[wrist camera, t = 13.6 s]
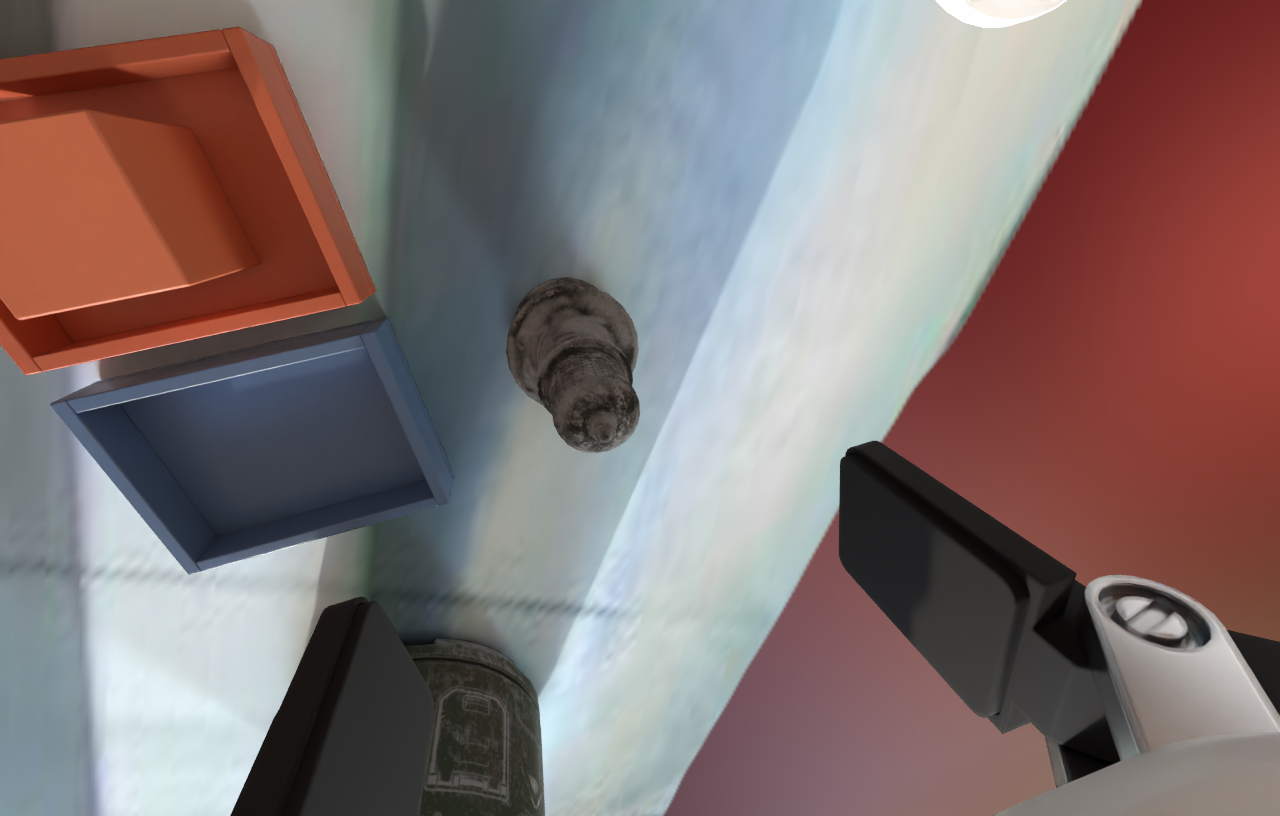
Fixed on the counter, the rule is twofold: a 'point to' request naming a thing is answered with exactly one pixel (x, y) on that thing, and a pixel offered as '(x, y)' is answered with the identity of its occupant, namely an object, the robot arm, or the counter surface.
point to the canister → (480, 733)
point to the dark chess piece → (577, 362)
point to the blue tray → (266, 443)
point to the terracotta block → (108, 212)
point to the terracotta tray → (245, 168)
